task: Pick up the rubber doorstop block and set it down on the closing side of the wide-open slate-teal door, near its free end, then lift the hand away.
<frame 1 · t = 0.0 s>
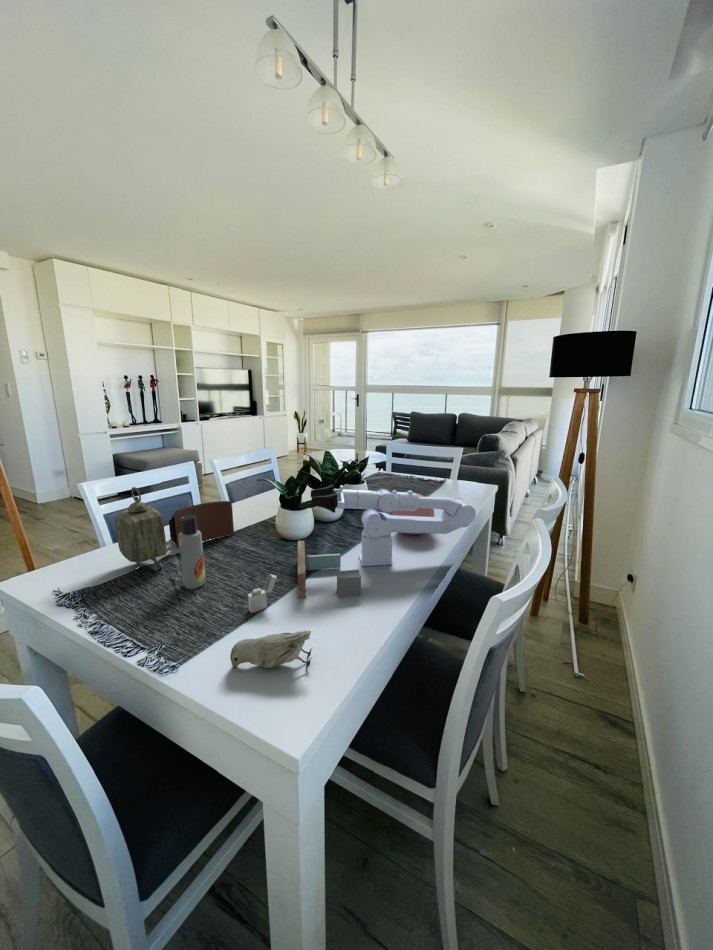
hand: (311, 497, 114), 22 cm above the table, tool horizontal, fingers open, 7 cm apart
doorstop block: (348, 592, 103), on the table
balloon: (416, 532, 146), on the table
decorative bird: (272, 666, 76), on the table
lotion bottle: (194, 584, 106), on the table
lighter: (263, 607, 96), on the table
wooden plank: (301, 577, 110), on the table
letter holder: (203, 538, 139), on the table
door: (323, 561, 115), point 3 cm above the table, hinge at 90.0°
tabletop clock: (144, 567, 116), on the table
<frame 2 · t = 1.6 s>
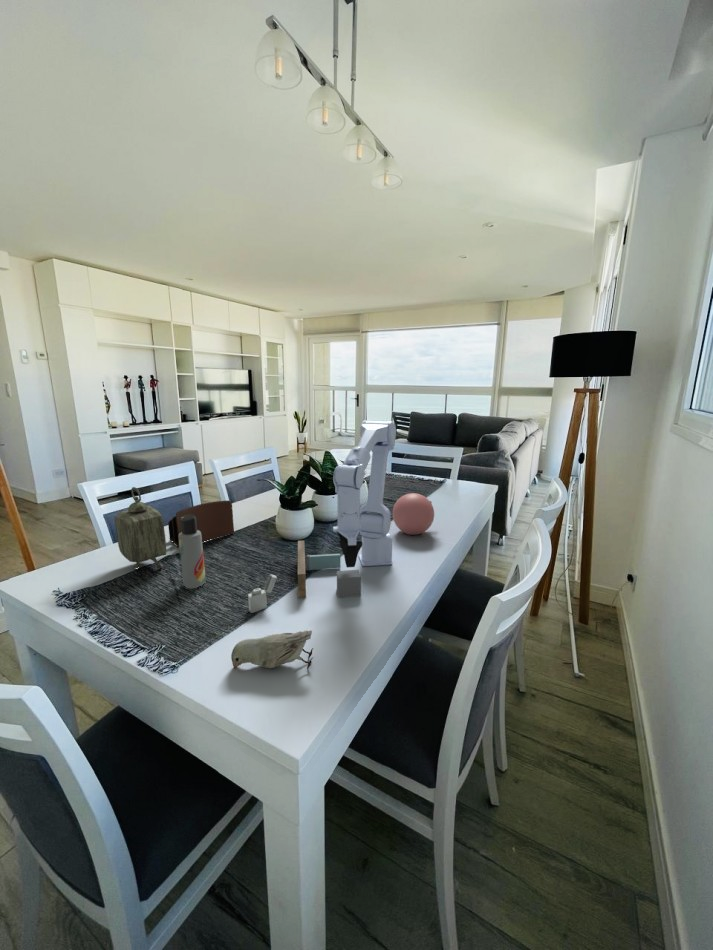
hand: (348, 560, 100), 9 cm above the table, tool pointing down, fingers open, 7 cm apart
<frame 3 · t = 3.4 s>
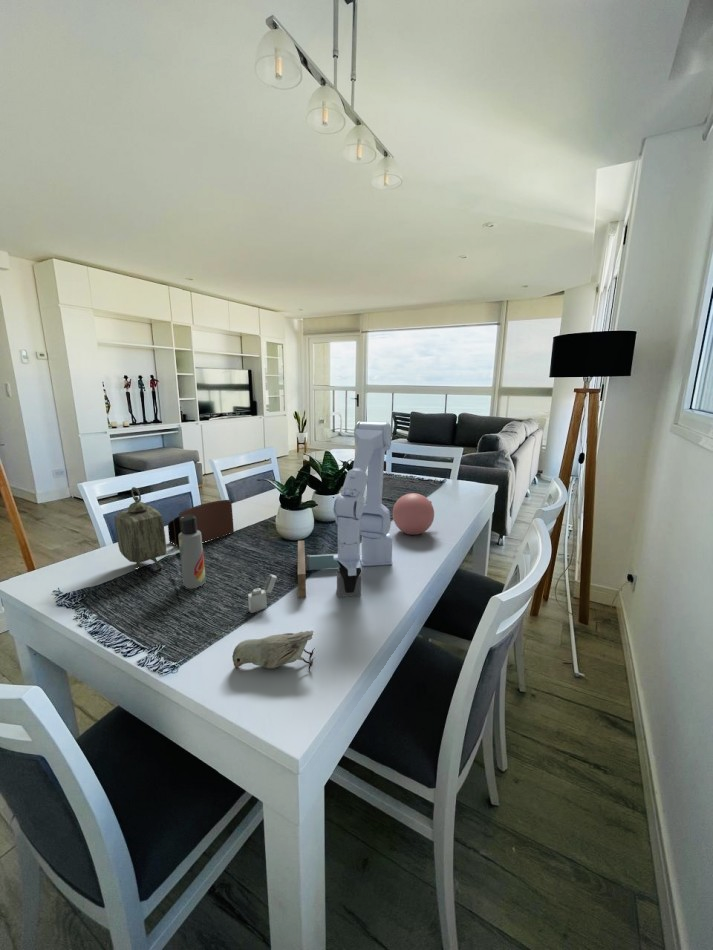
hand: (348, 587, 102), 1 cm above the table, tool pointing down, fingers closed on doorstop block, 4 cm apart
doorstop block: (348, 592, 103), on the table, touching gripper
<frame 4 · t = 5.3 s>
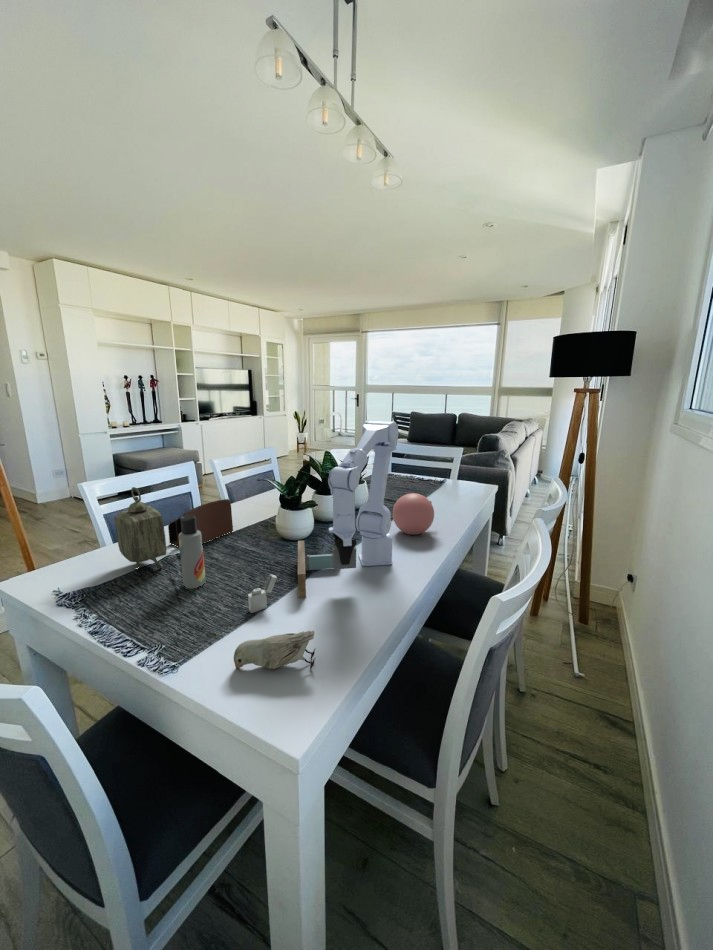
hand: (344, 560, 103), 8 cm above the table, tool pointing down, fingers closed on doorstop block, 4 cm apart
doorstop block: (344, 565, 103), point 7 cm above the table, touching gripper
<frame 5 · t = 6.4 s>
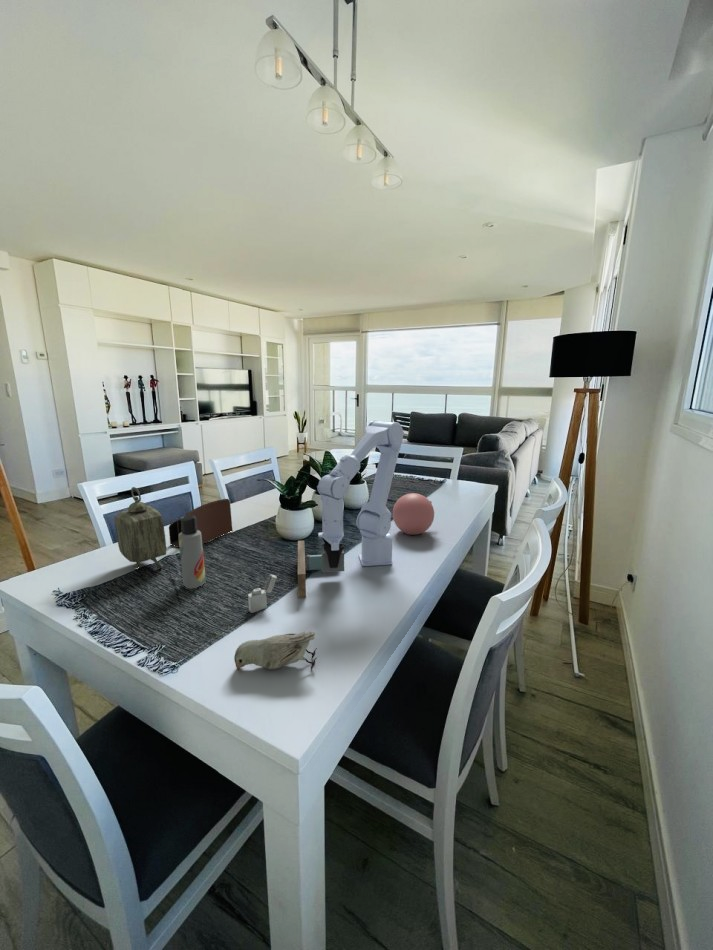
hand: (333, 563, 108), 5 cm above the table, tool pointing down, fingers closed on doorstop block, 4 cm apart
doorstop block: (332, 568, 108), point 3 cm above the table, touching gripper
when the fingers open (2 cm above the table, at t = 7.3 s): doorstop block drops 1 cm, on the table.
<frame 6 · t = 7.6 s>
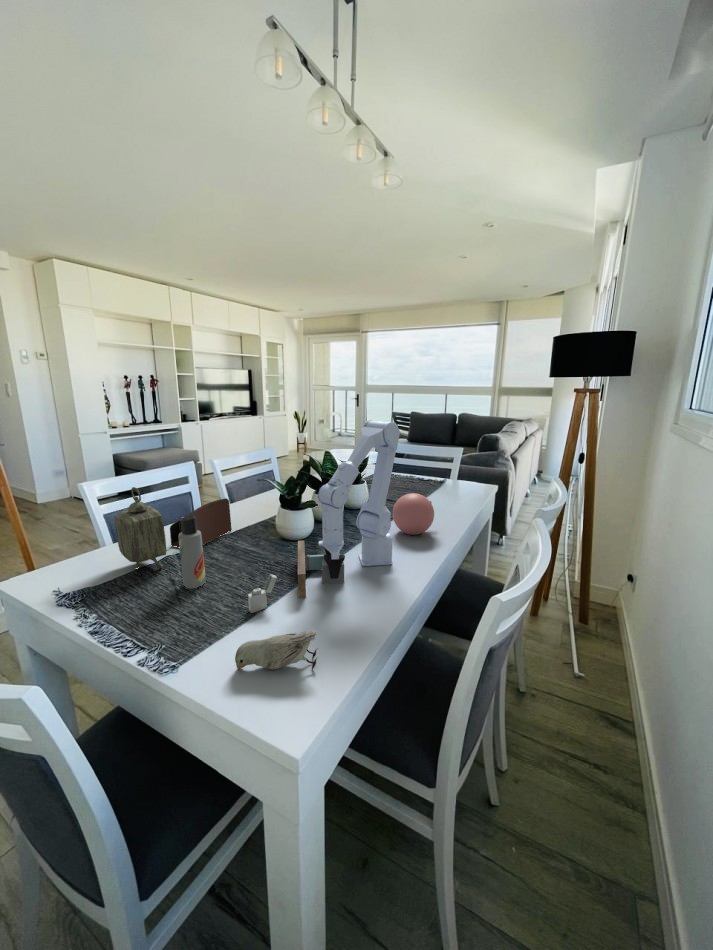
hand: (333, 571, 109), 2 cm above the table, tool pointing down, fingers open, 7 cm apart
doorstop block: (333, 579, 109), on the table
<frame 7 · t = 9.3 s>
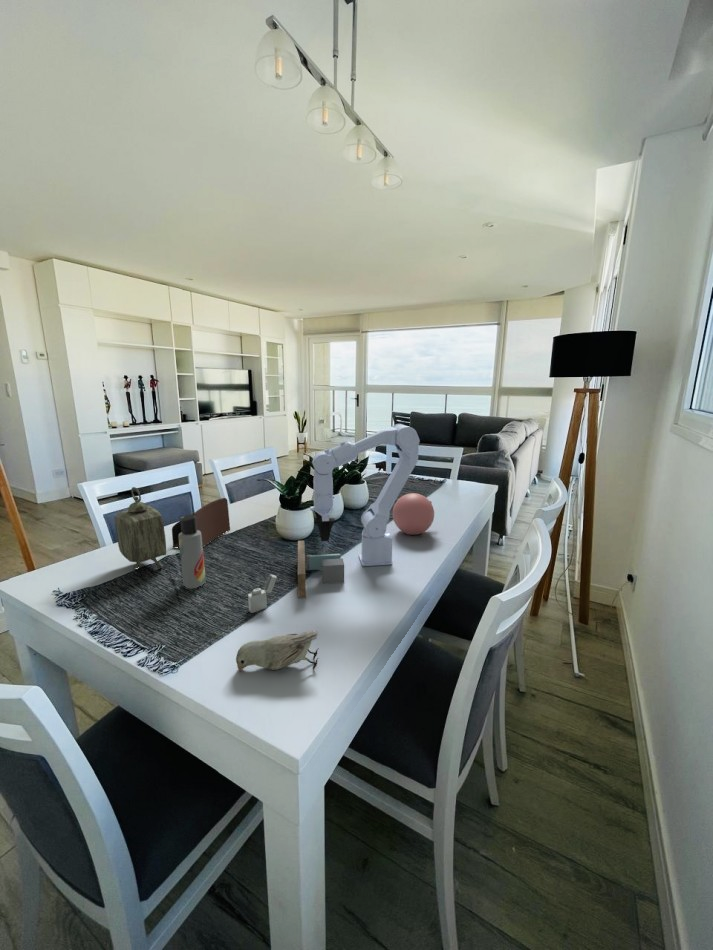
hand: (323, 535, 117), 9 cm above the table, tool pointing down, fingers open, 7 cm apart
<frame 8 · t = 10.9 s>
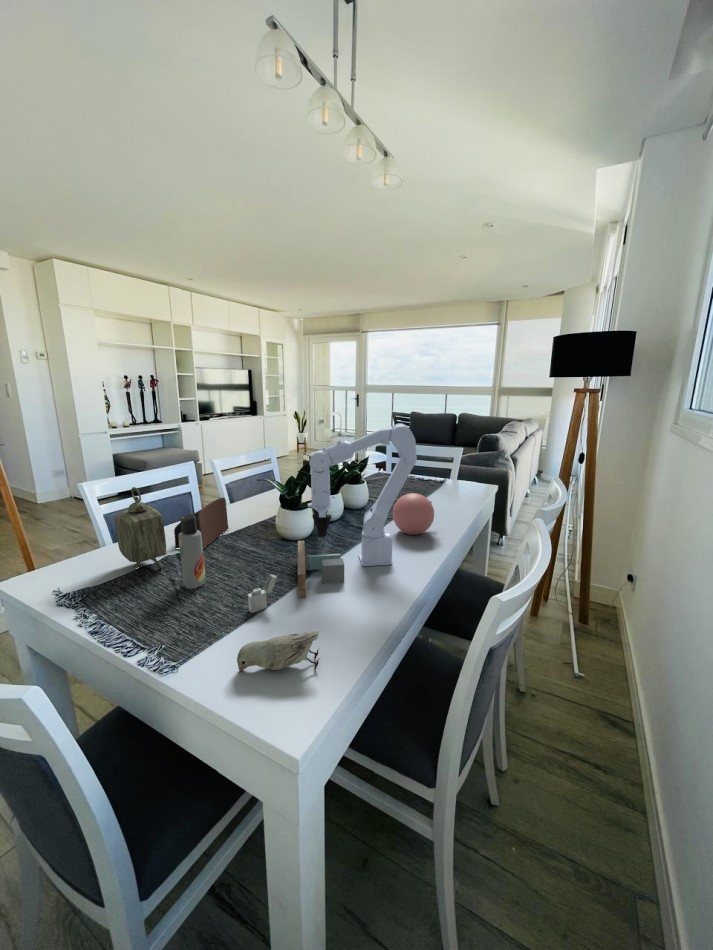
hand: (321, 531, 120), 9 cm above the table, tool pointing down, fingers open, 7 cm apart
at the end: doorstop block 0.0 cm from the target spot, on the table; doorstop block tilted 0°; door at +90° (first picture: +90°) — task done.
